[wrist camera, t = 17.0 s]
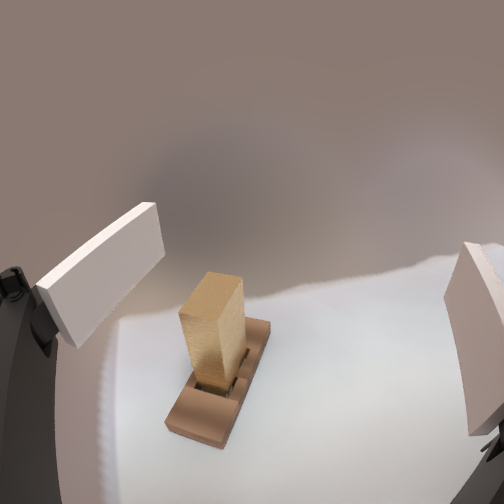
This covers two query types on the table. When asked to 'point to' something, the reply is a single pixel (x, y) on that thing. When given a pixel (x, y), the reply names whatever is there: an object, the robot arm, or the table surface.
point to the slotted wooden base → (215, 407)
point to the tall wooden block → (215, 331)
